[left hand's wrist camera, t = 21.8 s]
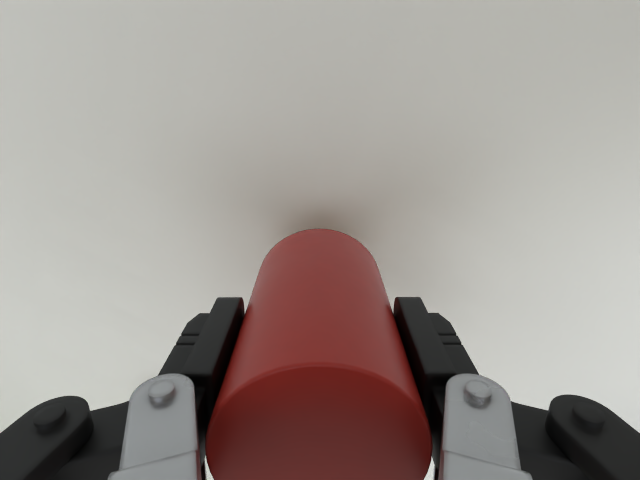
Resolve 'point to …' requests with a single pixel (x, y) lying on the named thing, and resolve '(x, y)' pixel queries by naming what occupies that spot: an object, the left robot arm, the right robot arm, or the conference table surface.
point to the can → (319, 374)
